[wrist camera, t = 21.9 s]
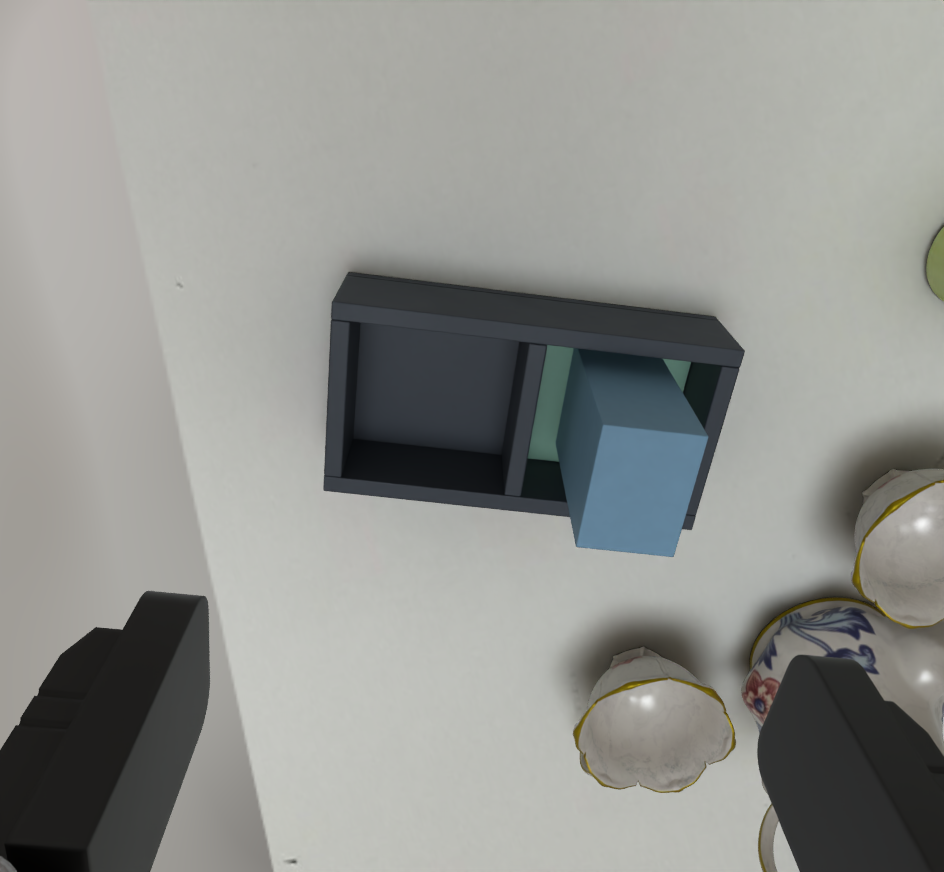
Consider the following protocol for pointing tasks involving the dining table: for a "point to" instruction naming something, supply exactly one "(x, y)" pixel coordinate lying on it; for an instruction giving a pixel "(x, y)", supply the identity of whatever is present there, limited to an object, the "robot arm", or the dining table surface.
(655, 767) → the chinaware
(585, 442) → the steel-blue rectangular block
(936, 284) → the tube
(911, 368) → the dining table surface
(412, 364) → the tray
